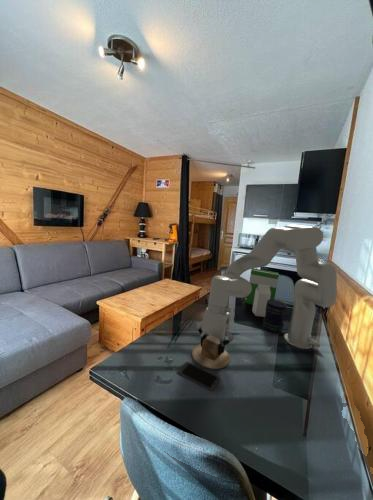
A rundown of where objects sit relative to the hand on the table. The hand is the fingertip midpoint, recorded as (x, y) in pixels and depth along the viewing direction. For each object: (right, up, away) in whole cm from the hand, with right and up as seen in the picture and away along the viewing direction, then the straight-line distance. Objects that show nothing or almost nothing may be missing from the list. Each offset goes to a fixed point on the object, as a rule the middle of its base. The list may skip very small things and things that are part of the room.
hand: (211, 349), depth 87 cm
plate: (0, -3, 0) cm, 3 cm away
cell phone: (-6, -5, -11) cm, 14 cm away
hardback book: (+41, +1, +66) cm, 78 cm away
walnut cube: (0, -2, 0) cm, 2 cm away
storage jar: (+36, -3, +30) cm, 47 cm away
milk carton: (+35, -1, +49) cm, 60 cm away
